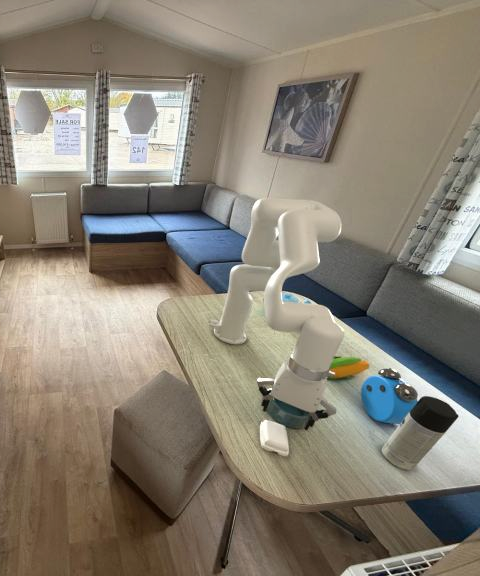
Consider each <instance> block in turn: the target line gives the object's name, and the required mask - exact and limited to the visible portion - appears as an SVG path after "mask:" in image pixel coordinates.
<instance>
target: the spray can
mask: <svg viewBox="0 0 480 576" xmlns="http://www.w3.org/2000/svg"><path fill="white" fill-rule="evenodd" d="M417 401H418V402H417V403H416V404H415V406H414V407H413V408H412V409H411V410H410V412H409V413H408V415H407V416H406V417H405V418H404V420H403V421H402V422H401V424H398V426H397V427H396V429H395V430H394V432H393V433H392V434H391V436H390V437H389V438H388V440H387V441H386V442H385V443H384V444H383V446H382V448H381V454H382V455H383V457H384V458H385V460H386V461H388V462H389V463H390V464H392V465H393V466H395V467H397V468H399V469H401V470H406V471H411V470H413V469H414V468H416V466H417V465H419V464H420V462H421V461H422V460H423V459H424V458H425V457H426V455H427V454H428V453H429V452H430V451H431V450H432V449H433V447H434V446H435V445H437V443H438V442H439V440H440V439H441V438H442V437H443V436H444V435H445V434H446V433H447V431H448V430H450V428H451V427H452V426H453V424H454V423H455V422H456V421H457V419H458V418H459V414H458V413H457V412H456V410H455V409H454V408H453V407H452V406H451V405H450V404H449V403H447V402H446V401H444V400H442V399H439V398H437V397H434V396H428V395H424V396H422V397H420V398H419V399H418V400H417Z"/></svg>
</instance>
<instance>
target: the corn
mask: <svg viewBox="0 0 480 576" xmlns="http://www.w3.org/2000/svg"><path fill="white" fill-rule="evenodd" d="M329 368H330V370H331V371H334V372H335V375H334V377H331V376H327V379H331V380H344V379H351V378H354V377H356V375H359V374H361V373H363V372H364V371H367V370H368V369H370V363H369V362H368V361H366V360H365V359H364V360H363V359H361V358H359V357H355V356H336V355H335V357H334V359H333V361H332V363H331V365H330V367H329Z"/></svg>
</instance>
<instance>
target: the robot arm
mask: <svg viewBox="0 0 480 576" xmlns="http://www.w3.org/2000/svg"><path fill="white" fill-rule="evenodd" d="M250 215H251V216H250V223H251V224H250V228H249V232H248V234H247V238H246V240H245V243H244V246H243V248H242V252H241V261H242V262H243V264H237V265H235V266H233V267H232V268H231V270H230V272H229V279H228V280H229V282H228V289H227V294H226V297H225V302H224V306H223V310H222V314H221V318H220V320H215V319H214V318H213V319H212V318H209V320H208V324H210V325H209V327H212V328H213V334H214V336H215V337H216V338H217V339H218V340H220V341H221V342H224V343H225V344H229V345H242V344H244V343H245V342H246V341H247V338H248V337H247V334H246V333H245V330H246V327H247V323H248V321H249V317H250V315H251V310H252V307H253V305H254V299H253V296H252V294H251V293H250V292H264V293H263V298H264V303H263V308H264V309H263V310H264V318H265V323H266V324H267V326H268V327H269V328H270V329H271V330H274V331H276V332H283V333H290V334H291V333H293V334H299V335H298V337H297V340H296V343H295V344H294V347H293V350H292V352H291V355H290V357H289V359H287V360H284V362H283V363H282V364H281V366H280V367H279V369H278V371H277V372H276V375H275V377H274V378H270V377H269V378H268V377H267V378H266V377H264V378H263V377H259V378H258V377H257V380H256V384H257V387H258V391H259V393H260V394H261V395H262V401H261V404H260V406H261V407H262V412H263V413H266V412H267V411H268V410H267V407H268V405H269V402H270V399H273V398H276V399H278V400H280V401H283V402H285V403H287V404H290V405H292V406H295V407H297V408H300V409H302V410H305V411H308V412H309V414H308V416H307V418H306V420H305V424H304V428H303V429H304V431H307V432H308V430H309V429H310V428H313V427H314V426H315V423H316V422H318V421H319V420H324V419H329V417H332V416H333V415H336V414H337V408H336V407H335V406H334V405H333V404H331V402H329V401H328V400H327V399H325V397H324V393H325V390H326V387H327V382H328V378H327V376H331V377H334V375H335V372H334V371H331V370H330V368H329V367H330V365H331V363H332V361H333V359H334V357H335V356H336V354H337V352H338V351H339V348H340V346H341V344H342V342H343V341H344V337H345V330H344V329H343V327H342V326H341V325H340V324H339V323H337V322H336V321H335V319H334V316H333V314H332V312H331V310H330V309H329V308H328V307H327V306H325V305H322V304H317V303H311V304H306V303H302V302H299V303H297V302H284V301H282V293H283V292H282V290H283V286H284V283H285V281H286V280H287V279H289V278H292V277H294V276H299V275H302V274H305V273H308V272H312V271H313V270H315V269H316V268H317V267H318V266H319V265H320V253H319V245H318V243H332V242H334V241H335V240H336V239H337V238H338V237H339V236H340V234H341V231H342V220H341V218H340V215H339V214H338V213H337V211H335V210H334V209H332V208H331V207H328V206H327V205H325V204H323V203H322V202H320V201H317V200H312V199H296V198H281V197H262V198H260V199H258V200H257V201H255V203H254V205H253V206H252V208H251V213H250ZM277 238H278V240H276V239H277ZM266 386H271V388H267V387H266ZM320 406H322V407H323V408H324V409H319V407H320Z"/></svg>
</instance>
